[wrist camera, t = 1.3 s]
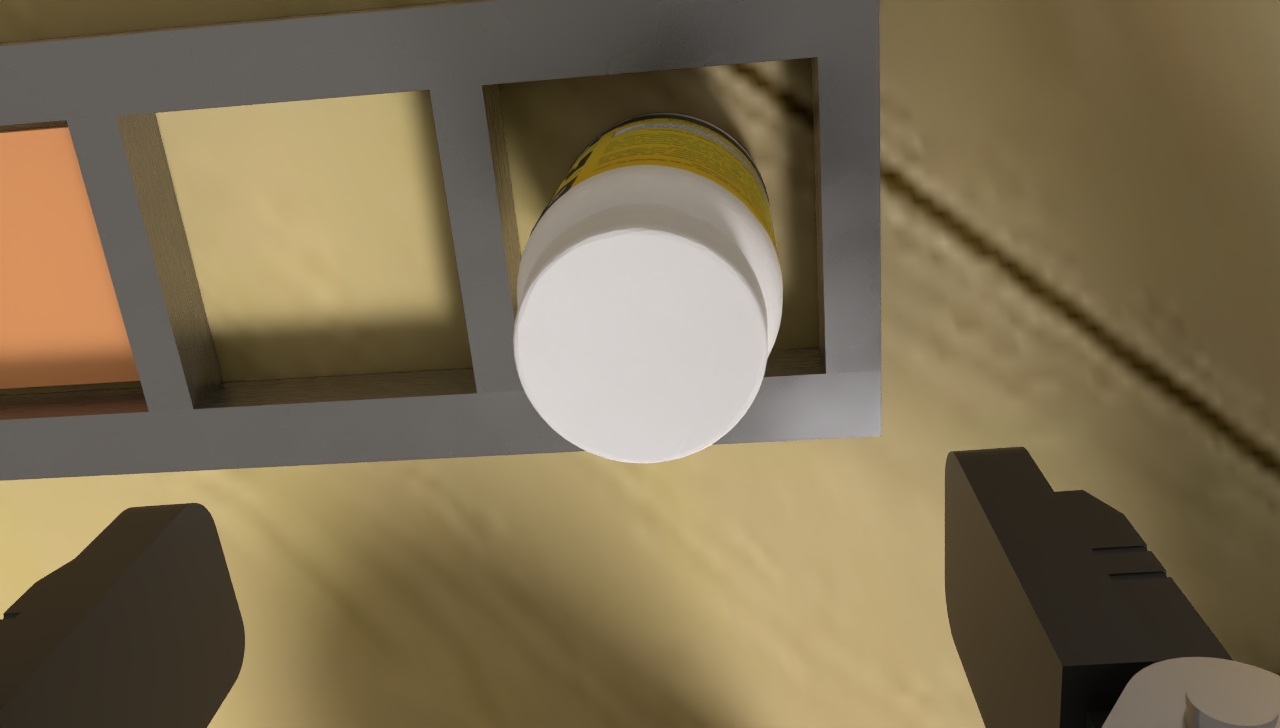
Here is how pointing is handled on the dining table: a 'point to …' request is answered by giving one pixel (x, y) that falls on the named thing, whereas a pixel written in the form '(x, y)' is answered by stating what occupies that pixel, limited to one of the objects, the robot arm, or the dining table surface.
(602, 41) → the grey flat rectangular frame
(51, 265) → the marked hole pad
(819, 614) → the dining table surface
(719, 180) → the supplement bottle
